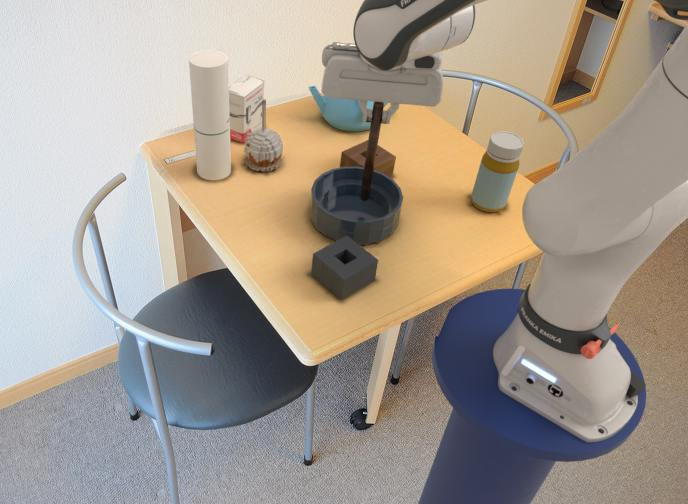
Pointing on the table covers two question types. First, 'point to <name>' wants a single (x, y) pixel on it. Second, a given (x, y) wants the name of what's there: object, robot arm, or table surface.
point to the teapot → (342, 112)
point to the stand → (344, 267)
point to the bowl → (355, 205)
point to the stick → (371, 150)
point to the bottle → (497, 171)
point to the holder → (358, 155)
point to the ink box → (245, 107)
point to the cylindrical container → (211, 113)
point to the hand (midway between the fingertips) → (376, 121)
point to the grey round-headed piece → (263, 147)
